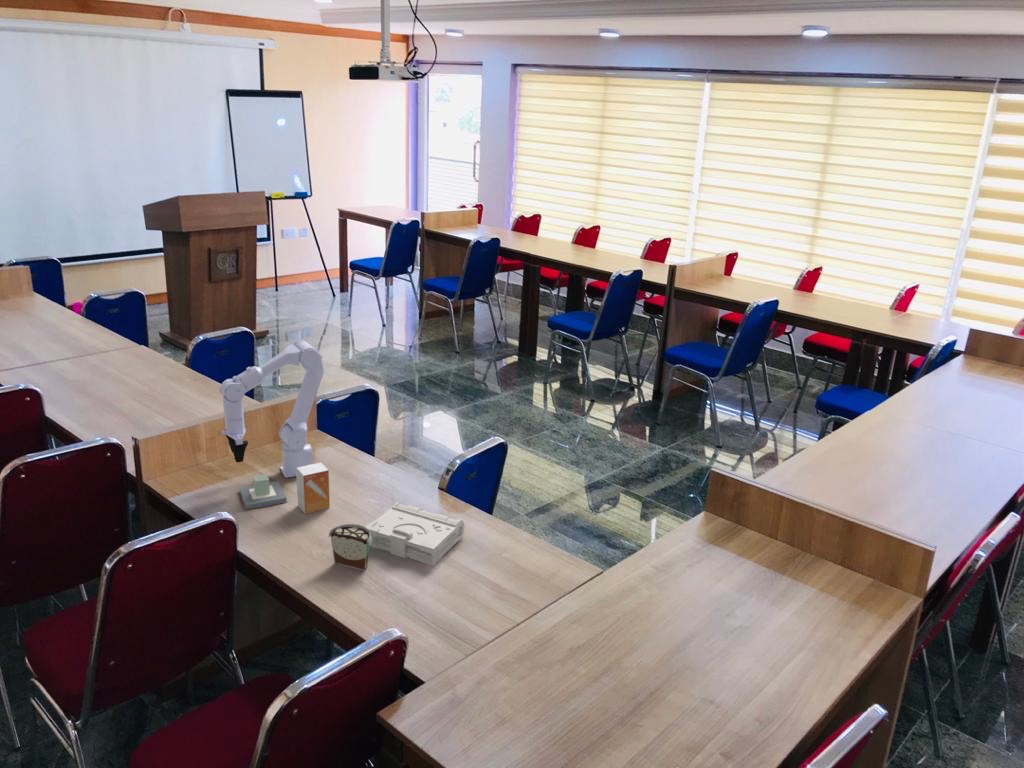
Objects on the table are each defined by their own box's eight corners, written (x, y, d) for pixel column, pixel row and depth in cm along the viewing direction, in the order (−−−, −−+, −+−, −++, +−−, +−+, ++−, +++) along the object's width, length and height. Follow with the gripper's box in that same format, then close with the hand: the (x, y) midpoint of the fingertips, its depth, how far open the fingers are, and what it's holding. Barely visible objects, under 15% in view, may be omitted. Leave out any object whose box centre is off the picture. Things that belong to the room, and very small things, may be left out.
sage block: (267, 488, 263) (266, 473, 261) (269, 493, 260) (268, 479, 258) (254, 490, 261) (253, 476, 260) (256, 496, 258) (255, 481, 256)
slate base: (278, 485, 269) (278, 480, 268) (286, 502, 259) (286, 497, 258) (239, 491, 264) (239, 487, 263) (246, 509, 254) (246, 504, 253)
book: (385, 513, 256) (385, 491, 253) (466, 537, 245) (467, 514, 242) (348, 543, 239) (347, 520, 236) (432, 570, 228) (432, 546, 225)
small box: (304, 514, 252) (302, 475, 248) (297, 505, 257) (295, 467, 253) (330, 508, 257) (328, 469, 252) (322, 499, 261) (321, 461, 257)
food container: (380, 560, 231) (380, 528, 227) (370, 572, 225) (369, 539, 222) (341, 550, 234) (340, 519, 231) (329, 562, 229) (328, 530, 225)
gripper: (217, 410, 265) (220, 449, 270) (224, 427, 253) (227, 468, 258) (240, 407, 268) (243, 446, 273) (248, 424, 256) (251, 464, 261)
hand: (237, 456), depth 266 cm, fingers open, 7 cm apart
